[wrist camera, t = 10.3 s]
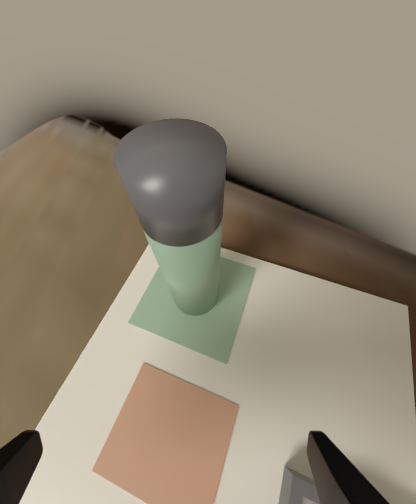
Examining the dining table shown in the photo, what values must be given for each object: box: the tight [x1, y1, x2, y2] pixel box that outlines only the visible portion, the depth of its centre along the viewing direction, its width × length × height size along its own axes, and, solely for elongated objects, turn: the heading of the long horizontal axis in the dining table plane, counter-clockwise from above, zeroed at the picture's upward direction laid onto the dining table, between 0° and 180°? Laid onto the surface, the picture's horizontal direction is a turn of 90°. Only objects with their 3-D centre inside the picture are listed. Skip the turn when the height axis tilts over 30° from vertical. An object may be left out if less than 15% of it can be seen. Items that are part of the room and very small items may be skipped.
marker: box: [114, 119, 227, 316], centre depth 13 cm, size 4×4×13 cm
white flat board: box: [19, 244, 416, 504], centre depth 15 cm, size 20×22×3 cm
